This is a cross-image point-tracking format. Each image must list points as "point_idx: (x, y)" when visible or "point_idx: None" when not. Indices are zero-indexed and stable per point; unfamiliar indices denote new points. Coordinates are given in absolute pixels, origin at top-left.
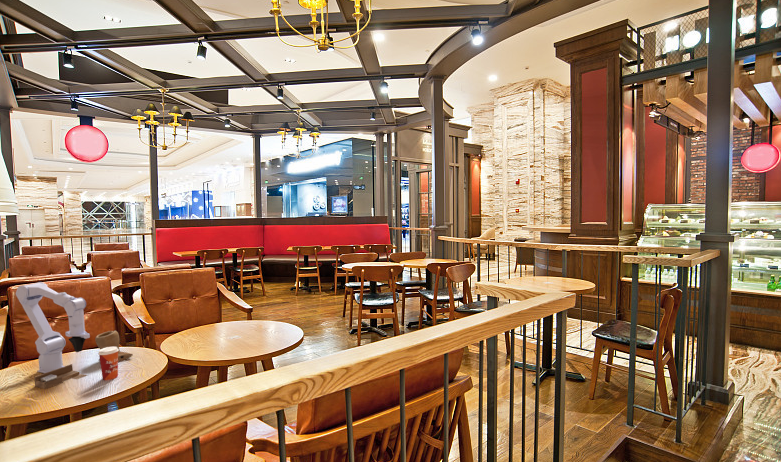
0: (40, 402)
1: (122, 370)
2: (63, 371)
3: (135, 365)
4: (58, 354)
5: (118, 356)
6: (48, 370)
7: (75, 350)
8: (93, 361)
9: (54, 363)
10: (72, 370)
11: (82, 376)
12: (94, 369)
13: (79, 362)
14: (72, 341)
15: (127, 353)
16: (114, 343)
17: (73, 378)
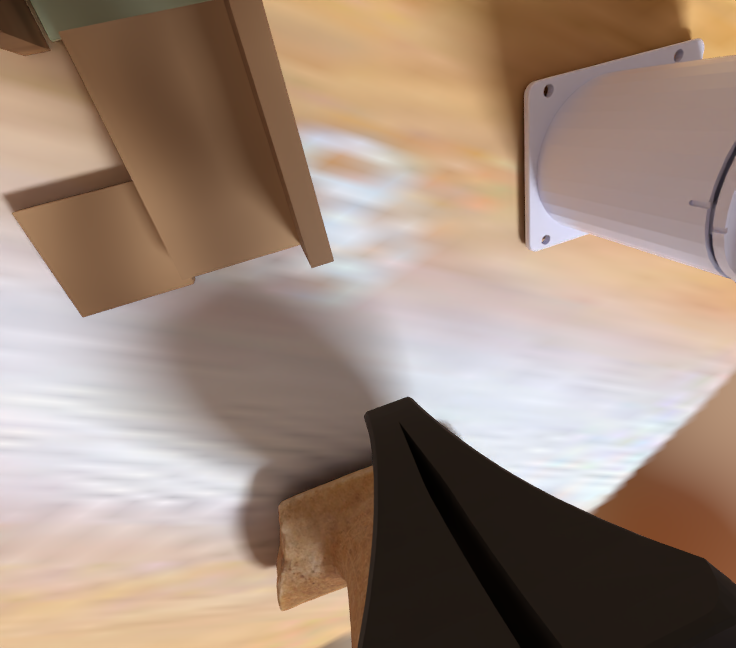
0: None
1: (16, 529)
2: (270, 147)
3: (80, 591)
4: (679, 221)
5: (285, 559)
6: (580, 96)
7: (406, 415)
8: (474, 402)
9: (599, 154)
10: (298, 242)
11: (84, 275)
12: (270, 383)
13: (551, 335)
14: (524, 593)
15: (294, 601)
16: None
17: (88, 193)
